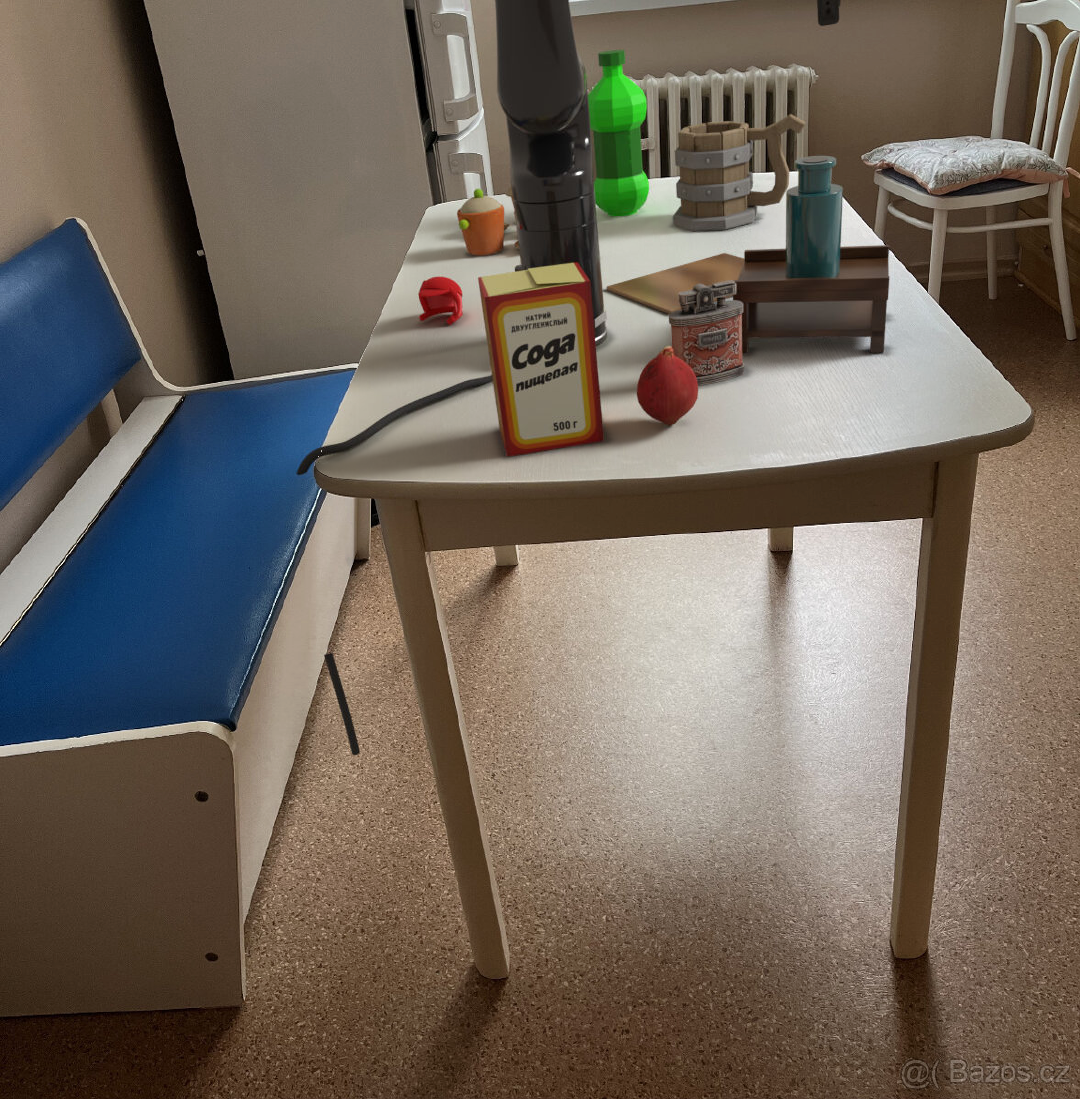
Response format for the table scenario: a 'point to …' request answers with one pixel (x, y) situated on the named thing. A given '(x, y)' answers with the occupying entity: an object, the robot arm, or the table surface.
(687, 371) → the onion
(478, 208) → the toy tea set
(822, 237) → the vase
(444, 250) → the table surface
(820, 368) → the table surface
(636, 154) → the plastic bottle
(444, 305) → the red toy helmet
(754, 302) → the rack
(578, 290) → the baking soda box
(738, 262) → the placemat
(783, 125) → the tankard
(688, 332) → the lighter
